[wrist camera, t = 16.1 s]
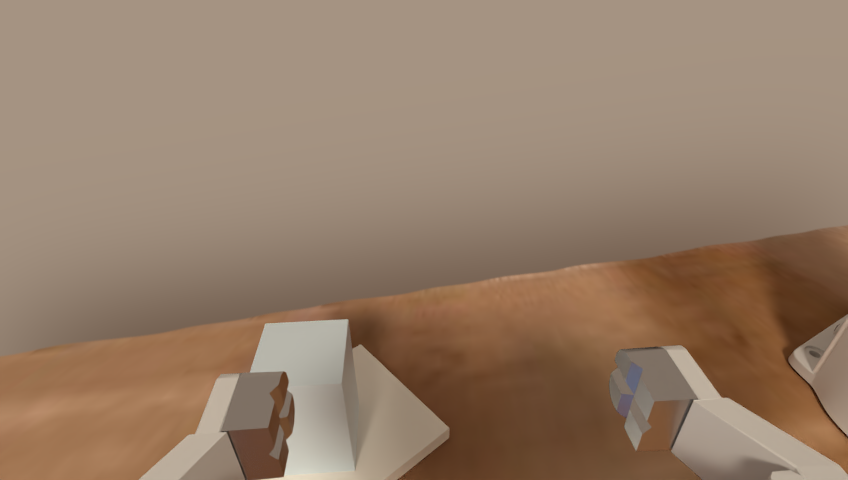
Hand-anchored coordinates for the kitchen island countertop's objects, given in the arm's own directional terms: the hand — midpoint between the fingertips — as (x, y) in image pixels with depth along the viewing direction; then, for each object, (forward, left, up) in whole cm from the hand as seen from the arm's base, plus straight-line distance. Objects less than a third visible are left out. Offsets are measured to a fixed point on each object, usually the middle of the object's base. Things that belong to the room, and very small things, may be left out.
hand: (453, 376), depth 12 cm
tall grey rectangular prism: (-3, -17, -23) cm, 28 cm away
